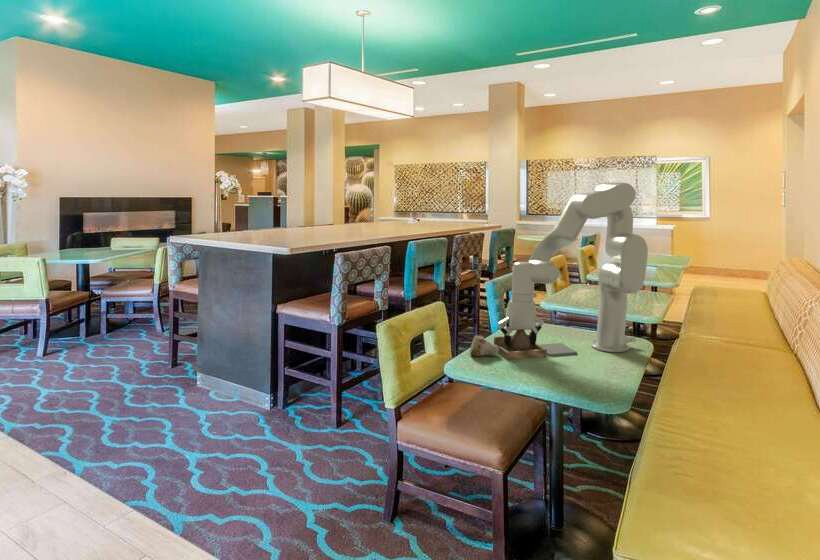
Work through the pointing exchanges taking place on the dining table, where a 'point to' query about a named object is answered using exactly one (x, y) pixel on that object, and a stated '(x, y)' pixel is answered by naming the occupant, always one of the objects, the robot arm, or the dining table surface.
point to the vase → (520, 341)
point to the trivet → (558, 349)
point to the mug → (483, 347)
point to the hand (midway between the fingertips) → (519, 344)
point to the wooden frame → (535, 352)
